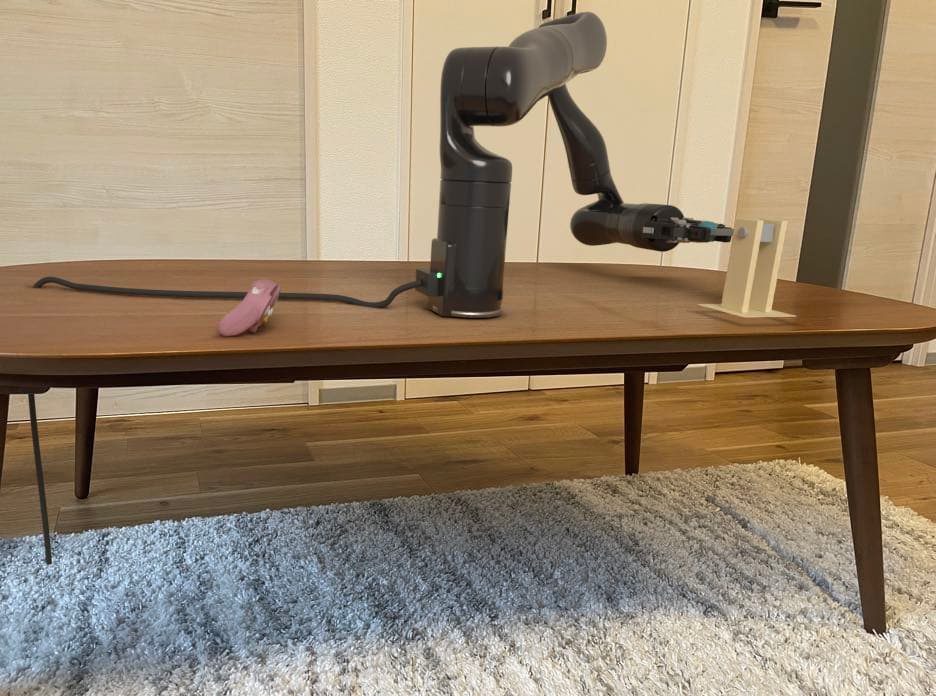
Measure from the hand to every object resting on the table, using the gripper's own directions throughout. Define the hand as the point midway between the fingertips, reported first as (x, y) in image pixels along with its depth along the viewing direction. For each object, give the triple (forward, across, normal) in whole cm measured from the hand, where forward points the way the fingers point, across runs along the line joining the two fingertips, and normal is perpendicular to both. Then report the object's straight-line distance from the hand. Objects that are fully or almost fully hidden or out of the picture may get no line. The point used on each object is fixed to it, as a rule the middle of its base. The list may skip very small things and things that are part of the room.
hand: (718, 235), depth 115 cm
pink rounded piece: (+9, -70, +11) cm, 71 cm away
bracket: (+8, 0, +11) cm, 14 cm away
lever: (+3, 0, +1) cm, 3 cm away
